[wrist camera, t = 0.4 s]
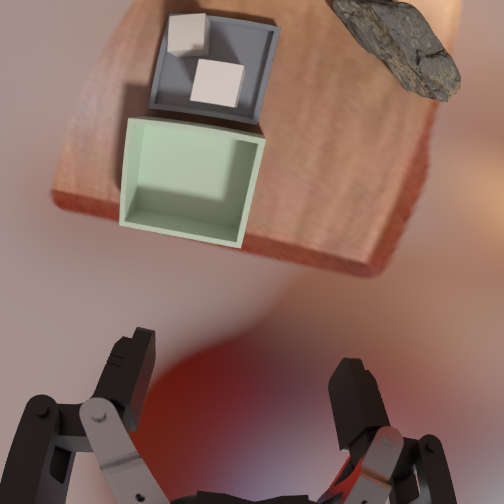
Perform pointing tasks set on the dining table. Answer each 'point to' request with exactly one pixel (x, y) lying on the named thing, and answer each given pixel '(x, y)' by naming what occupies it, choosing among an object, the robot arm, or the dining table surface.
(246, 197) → the green bin
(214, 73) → the off-white rectangular block
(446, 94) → the rock
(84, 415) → the robot arm
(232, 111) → the slate tray
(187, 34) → the smooth off-white cube
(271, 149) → the dining table surface
